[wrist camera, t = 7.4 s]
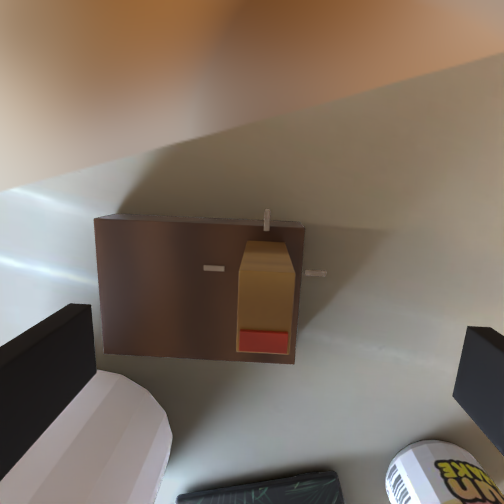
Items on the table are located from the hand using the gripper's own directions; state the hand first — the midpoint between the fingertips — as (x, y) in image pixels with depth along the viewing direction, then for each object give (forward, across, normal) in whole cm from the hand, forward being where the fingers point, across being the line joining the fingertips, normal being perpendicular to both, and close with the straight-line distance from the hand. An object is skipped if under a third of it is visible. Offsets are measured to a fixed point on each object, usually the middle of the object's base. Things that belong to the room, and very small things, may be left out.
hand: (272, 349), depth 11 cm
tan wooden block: (+10, 0, 0) cm, 10 cm away
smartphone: (+13, +1, -24) cm, 27 cm away
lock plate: (+13, -5, -2) cm, 14 cm away
